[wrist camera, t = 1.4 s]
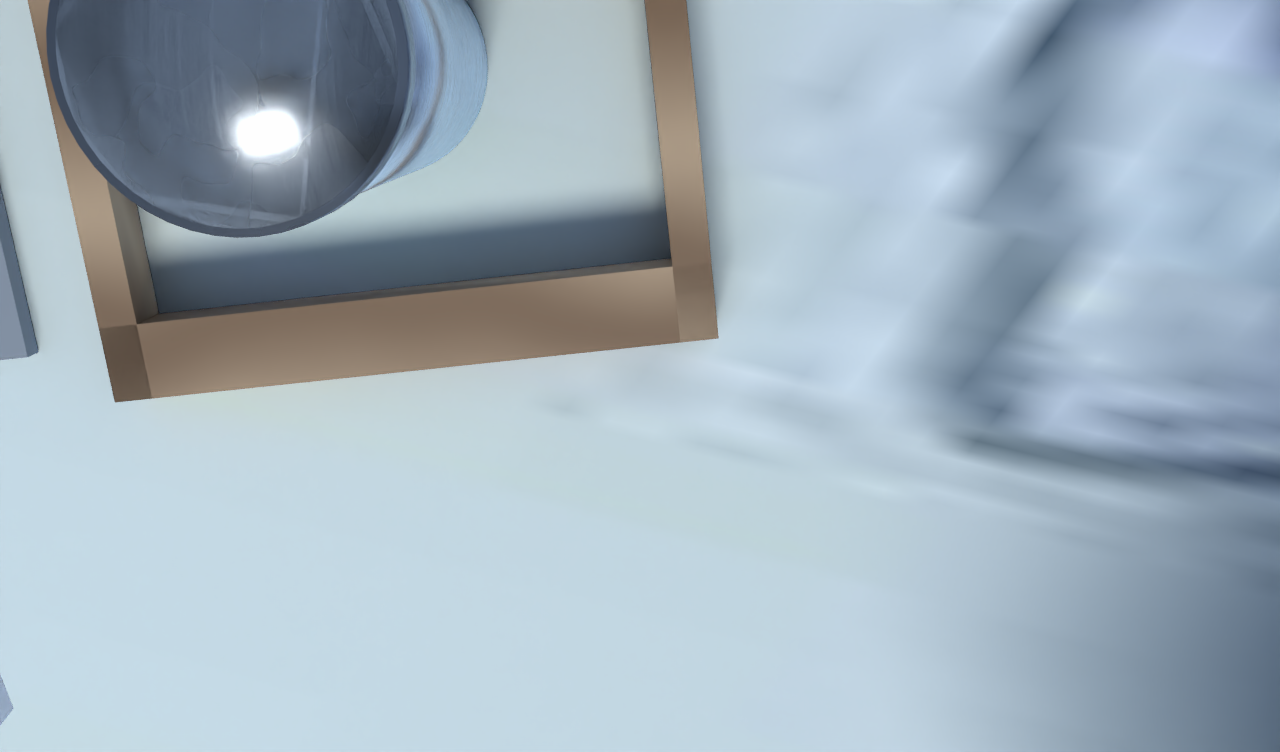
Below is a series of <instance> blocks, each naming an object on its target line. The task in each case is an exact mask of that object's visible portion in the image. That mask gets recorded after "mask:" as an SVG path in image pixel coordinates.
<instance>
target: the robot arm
mask: <svg viewBox="0 0 1280 752" xmlns="http://www.w3.org/2000/svg"><path fill="white" fill-rule="evenodd" d="M12 709H13V706H12V703H11V701H10V698H9V696H8V693H7V691H6V688H5V685H4V683H3V680H2V678H1V675H0V725H1V724H2V722H3V721H4V720H5V718H6V717H7V716H8V715H9V713H10V712H11V711H12Z"/></svg>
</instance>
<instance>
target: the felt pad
mask: <svg viewBox="0 0 1280 752" xmlns="http://www.w3.org/2000/svg"><path fill="white" fill-rule="evenodd" d="M35 353H38V348H37V344H36V340H35V335H34V331H33V327H32V322H31V318H30V314H29V309H28V305H27V301H26V296H25V292H24V287H23V283H22V279H21V274H20V270H19V266H18V261H17V257H16V253H15V248H14V244H13V240H12V235H11V231H10V227H9V222H8V218H7V214H6V209H5V205H4V201H3V196H2V192H1V187H0V360H4V359H14V358H23V357H29V356H31V355H33V354H35Z"/></svg>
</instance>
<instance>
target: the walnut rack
mask: <svg viewBox="0 0 1280 752" xmlns="http://www.w3.org/2000/svg"><path fill="white" fill-rule="evenodd" d="M644 1H645V11H646V20H647V30H648V40H649V49H650V59H651V69H652V78H653V88H654V98H655V107H656V117H657V127H658V136H659V146H660V156H661V165H662V175H663V185H664V194H665V204H666V214H667V223H668V233H669V243H670V252H671V258H670V259H660V260H651V261H642V262H633V263H623V264H614V265H605V266H596V267H586V268H577V269H568V270H559V271H549V272H540V273H531V274H521V275H512V276H503V277H494V278H484V279H475V280H466V281H457V282H447V283H438V284H429V285H420V286H410V287H401V288H392V289H383V290H373V291H364V292H355V293H345V294H336V295H327V296H318V297H308V298H299V299H290V300H281V301H271V302H262V303H253V304H244V305H234V306H225V307H216V308H207V309H197V310H188V311H179V312H169V313H160V314H159V312H158V307H157V302H156V297H155V292H154V287H153V282H152V278H151V273H150V268H149V263H148V258H147V253H146V248H145V243H144V238H143V234H142V229H141V224H140V219H139V214H138V209H137V204H135V203H134V202H132V201H131V200H129V199H128V198H126V197H125V196H124V195H123V194H122V193H121V192H119V191H118V190H117V189H116V188H115V187H114V186H112V185H111V184H110V183H109V182H108V181H107V180H106V179H105V178H104V177H103V176H102V174H101V173H100V172H99V171H98V170H97V169H96V168H95V167H94V166H93V165H92V163H91V162H90V160H89V159H88V158H87V156H86V155H85V154H84V152H83V151H82V150H81V148H80V147H79V145H78V144H77V142H76V140H75V138H74V137H73V135H72V133H71V131H70V129H69V128H68V126H67V124H66V122H65V119H64V117H63V114H62V112H61V110H60V107H59V105H58V102H57V99H56V96H55V92H54V89H53V85H52V81H51V78H50V71H49V65H48V58H47V42H46V26H47V17H48V7H49V2H50V0H28V4H29V9H30V13H31V18H32V22H33V27H34V32H35V36H36V41H37V45H38V50H39V55H40V59H41V64H42V69H43V73H44V78H45V82H46V87H47V92H48V96H49V101H50V105H51V110H52V115H53V119H54V124H55V128H56V133H57V138H58V142H59V147H60V151H61V156H62V161H63V165H64V170H65V174H66V179H67V184H68V188H69V193H70V198H71V202H72V207H73V211H74V216H75V221H76V225H77V230H78V234H79V239H80V244H81V248H82V253H83V257H84V262H85V267H86V271H87V276H88V280H89V285H90V290H91V294H92V299H93V303H94V308H95V313H96V317H97V322H98V327H99V331H100V336H101V340H102V345H103V350H104V354H105V359H106V363H107V368H108V373H109V377H110V382H111V386H112V391H113V396H114V400H115V402H123V401H132V400H141V399H151V398H160V397H170V396H179V395H189V394H198V393H207V392H217V391H226V390H236V389H245V388H255V387H264V386H273V385H283V384H292V383H302V382H311V381H321V380H330V379H339V378H349V377H358V376H368V375H377V374H387V373H396V372H405V371H415V370H424V369H434V368H443V367H453V366H462V365H471V364H481V363H490V362H500V361H509V360H519V359H528V358H537V357H547V356H556V355H566V354H575V353H585V352H594V351H603V350H613V349H622V348H632V347H641V346H651V345H660V344H669V343H679V342H688V341H698V340H707V339H717V338H718V328H717V317H716V307H715V297H714V286H713V276H712V265H711V255H710V244H709V234H708V223H707V213H706V203H705V192H704V182H703V171H702V161H701V150H700V140H699V129H698V119H697V108H696V98H695V88H694V77H693V67H692V56H691V46H690V35H689V25H688V14H687V4H686V0H644Z"/></svg>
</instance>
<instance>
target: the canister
mask: <svg viewBox="0 0 1280 752" xmlns="http://www.w3.org/2000/svg"><path fill="white" fill-rule="evenodd" d="M46 42H47V58H48V65H49V71H50V78H51V81H52V85H53V89H54V92H55V96H56V99H57V102H58V105H59V107H60V110H61V112H62V114H63V117H64V119H65V122H66V124H67V126H68V128H69V129H70V131H71V133H72V135H73V137H74V138H75V140H76V142H77V144H78V145H79V147H80V148H81V150H82V151H83V152H84V154H85V155H86V156H87V158H88V159H89V160H90V162H91V163H92V165H93V166H94V167H95V168H96V169H97V170H98V171H99V172H100V173H101V174H102V176H103V177H104V178H105V179H106V180H107V181H108V182H109V183H110V184H111V185H112V186H114V187H115V188H116V189H117V190H118V191H119V192H121V193H122V194H123V195H124V196H125V197H126V198H128V199H129V200H131V201H132V202H134V203H135V204H137V205H138V206H140V207H141V208H143V209H144V210H146V211H147V212H149V213H151V214H153V215H155V216H157V217H159V218H161V219H163V220H165V221H167V222H169V223H172V224H174V225H177V226H180V227H183V228H186V229H188V230H191V231H196V232H200V233H205V234H209V235H214V236H225V237H237V238H238V237H260V236H266V235H271V234H277V233H282V232H285V231H288V230H292V229H295V228H298V227H301V226H304V225H306V224H308V223H311V222H313V221H315V220H317V219H320V218H322V217H324V216H326V215H328V214H330V213H332V212H334V211H336V210H337V209H339V208H340V207H342V206H343V205H345V204H346V203H348V202H349V201H351V200H352V199H354V198H355V197H356V196H357V195H358V194H359V193H362V192H364V191H367V190H369V189H372V188H374V187H377V186H379V185H382V184H384V183H387V182H389V181H392V180H394V179H397V178H399V177H402V176H404V175H407V174H409V173H412V172H414V171H417V170H419V169H422V168H424V167H426V166H428V165H430V164H432V163H434V162H436V161H438V160H439V159H441V158H442V157H444V156H445V155H447V154H448V153H449V152H450V151H451V150H453V149H454V148H455V147H456V146H457V145H458V144H459V143H460V142H461V140H462V139H463V138H464V137H465V136H466V135H467V133H468V131H469V130H470V128H471V127H472V125H473V124H474V122H475V120H476V118H477V116H478V114H479V112H480V109H481V106H482V103H483V100H484V96H485V91H486V86H487V74H488V65H487V53H486V48H485V43H484V38H483V35H482V32H481V29H480V26H479V24H478V22H477V20H476V18H475V16H474V14H473V12H472V10H471V9H470V7H469V5H468V4H467V2H466V1H465V0H50V2H49V7H48V17H47V26H46Z"/></svg>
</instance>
